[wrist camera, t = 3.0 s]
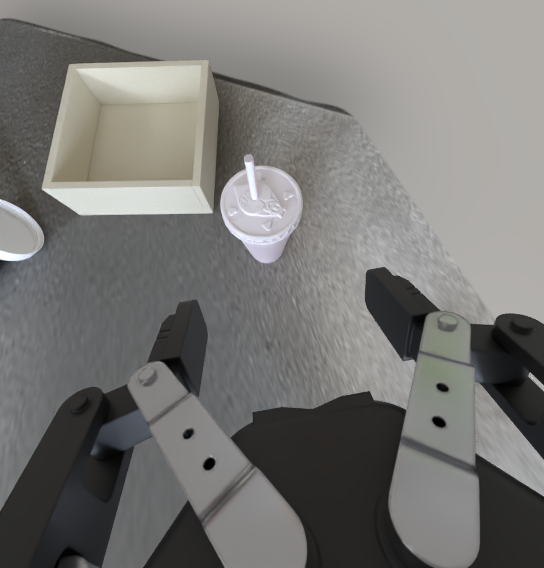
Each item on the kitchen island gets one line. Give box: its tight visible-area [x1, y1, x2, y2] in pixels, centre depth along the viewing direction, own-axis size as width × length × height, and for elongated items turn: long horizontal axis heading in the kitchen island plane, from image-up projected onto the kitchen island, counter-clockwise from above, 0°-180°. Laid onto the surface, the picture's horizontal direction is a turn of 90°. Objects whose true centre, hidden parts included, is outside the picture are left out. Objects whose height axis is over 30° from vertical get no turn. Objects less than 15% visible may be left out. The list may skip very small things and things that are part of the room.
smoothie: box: [220, 155, 303, 263], centre depth 23 cm, size 6×6×14 cm
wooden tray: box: [42, 60, 219, 215], centre depth 30 cm, size 16×16×5 cm
